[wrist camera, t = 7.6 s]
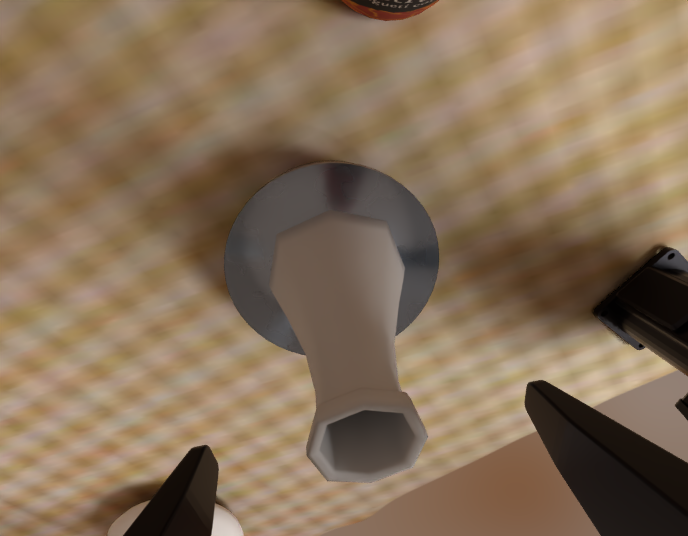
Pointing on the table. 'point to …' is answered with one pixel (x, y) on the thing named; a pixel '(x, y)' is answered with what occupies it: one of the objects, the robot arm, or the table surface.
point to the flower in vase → (223, 532)
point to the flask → (349, 343)
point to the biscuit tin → (307, 202)
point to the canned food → (389, 8)
